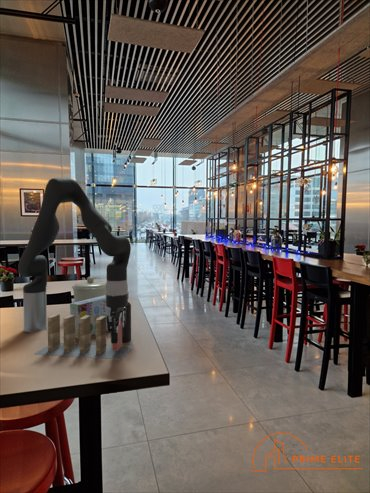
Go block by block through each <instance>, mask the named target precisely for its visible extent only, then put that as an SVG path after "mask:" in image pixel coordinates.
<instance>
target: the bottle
mask: <svg viewBox="0 0 370 493" xmlns="http://www.w3.org/2000/svg"><path fill="white" fill-rule="evenodd" d="M128 299H129V291H128ZM123 308H126V309H127V310H126V323H125V324H124V327H123V337H122V344H125V343H129V342H131V341H132V304H131V303H130V302H129V301H128V305H127V306H126V307H123Z"/></svg>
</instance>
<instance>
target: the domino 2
mask: <svg viewBox="0 0 370 493" xmlns="http://www.w3.org/2000/svg"><path fill="white" fill-rule="evenodd" d="M62 321H63V324H62V326H63V343H64V352H69V351H71V350H72V349H73V348H75V344H76V338H75V315H70V314H69V315H67V316H65V317H64V318H63V320H62Z"/></svg>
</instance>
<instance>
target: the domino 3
mask: <svg viewBox="0 0 370 493" xmlns="http://www.w3.org/2000/svg"><path fill="white" fill-rule="evenodd" d="M79 333H80V339H79V344H80V353H85V352H86V351H88V350H89V349H90V348H91V344H92V343H91V342H92V340H91V339H92V338H91V336H92V335H91V325H90V316H89V315H86V316H84V317H82V318H80V319H79Z"/></svg>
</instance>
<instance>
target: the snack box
mask: <svg viewBox="0 0 370 493" xmlns="http://www.w3.org/2000/svg"><path fill="white" fill-rule="evenodd" d="M69 310H70V314H69V315H75V339H78V340H80V333H79V319H80V318H82V317H84V316H86V315H89V316H90V325H91V336H92V335H94V334H95V335H96V319H97V318H99V317H101V316H106V318H107V316H110V311H111V308H109V307H107V306H106V295H104V296H100V297H96V298H92V299H87V300H83V301H79V302H75V301H74V302H72V303H69ZM106 332H108V328H107V319H106Z"/></svg>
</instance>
